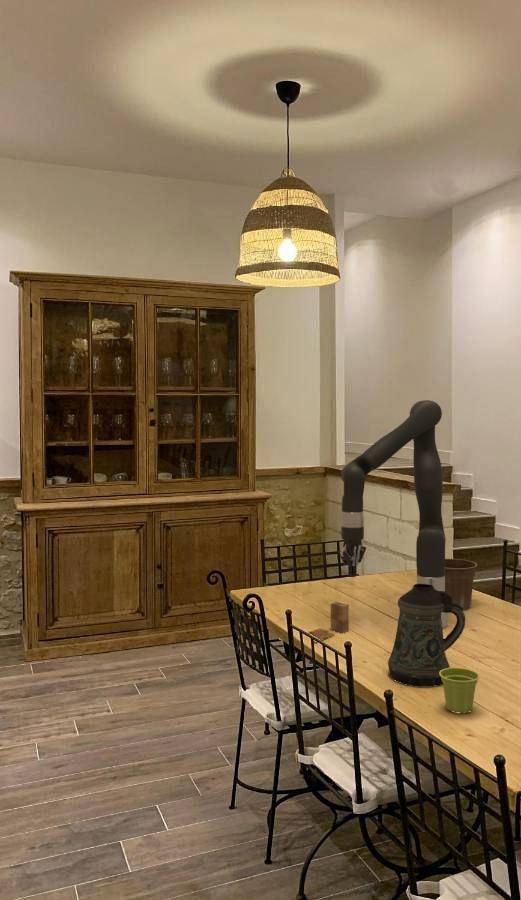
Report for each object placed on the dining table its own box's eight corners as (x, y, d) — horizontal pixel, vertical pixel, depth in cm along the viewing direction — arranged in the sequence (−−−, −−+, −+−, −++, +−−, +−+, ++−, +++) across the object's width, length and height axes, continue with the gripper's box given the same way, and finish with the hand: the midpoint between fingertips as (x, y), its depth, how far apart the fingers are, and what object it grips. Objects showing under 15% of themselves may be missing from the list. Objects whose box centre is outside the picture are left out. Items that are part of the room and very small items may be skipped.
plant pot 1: (475, 614, 260) (476, 569, 259) (428, 610, 265) (429, 566, 264) (477, 602, 275) (478, 560, 274) (433, 599, 280) (433, 557, 279)
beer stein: (376, 670, 205) (376, 581, 203) (435, 661, 212) (435, 575, 210) (409, 691, 189) (410, 595, 188) (471, 680, 196) (472, 588, 195)
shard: (315, 645, 228) (315, 640, 228) (295, 640, 233) (295, 635, 233) (335, 637, 236) (335, 631, 236) (316, 632, 241) (316, 627, 241)
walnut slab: (348, 631, 240) (348, 604, 240) (343, 633, 238) (343, 606, 238) (336, 628, 244) (336, 601, 243) (330, 630, 241) (330, 603, 241)
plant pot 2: (436, 714, 175) (436, 678, 175) (441, 699, 184) (441, 665, 184) (477, 719, 172) (477, 683, 172) (480, 704, 181) (480, 669, 180)
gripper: (349, 528, 237) (349, 581, 238) (373, 523, 246) (373, 574, 247) (331, 526, 242) (331, 578, 243) (355, 521, 251) (354, 571, 252)
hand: (352, 576), depth 245 cm, fingers closed
